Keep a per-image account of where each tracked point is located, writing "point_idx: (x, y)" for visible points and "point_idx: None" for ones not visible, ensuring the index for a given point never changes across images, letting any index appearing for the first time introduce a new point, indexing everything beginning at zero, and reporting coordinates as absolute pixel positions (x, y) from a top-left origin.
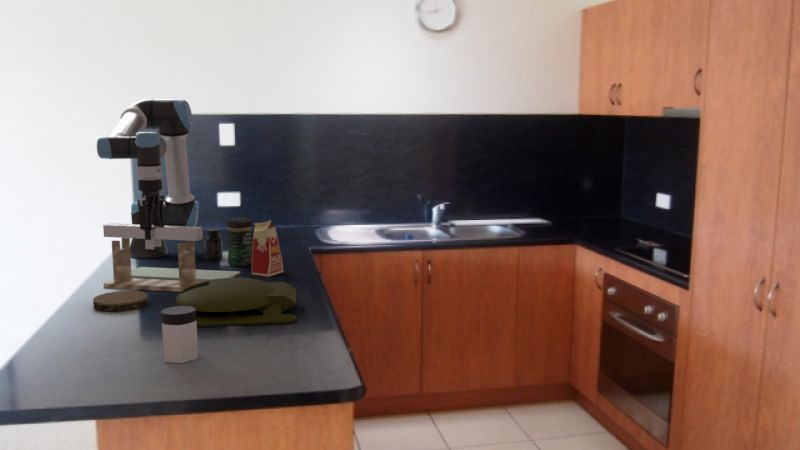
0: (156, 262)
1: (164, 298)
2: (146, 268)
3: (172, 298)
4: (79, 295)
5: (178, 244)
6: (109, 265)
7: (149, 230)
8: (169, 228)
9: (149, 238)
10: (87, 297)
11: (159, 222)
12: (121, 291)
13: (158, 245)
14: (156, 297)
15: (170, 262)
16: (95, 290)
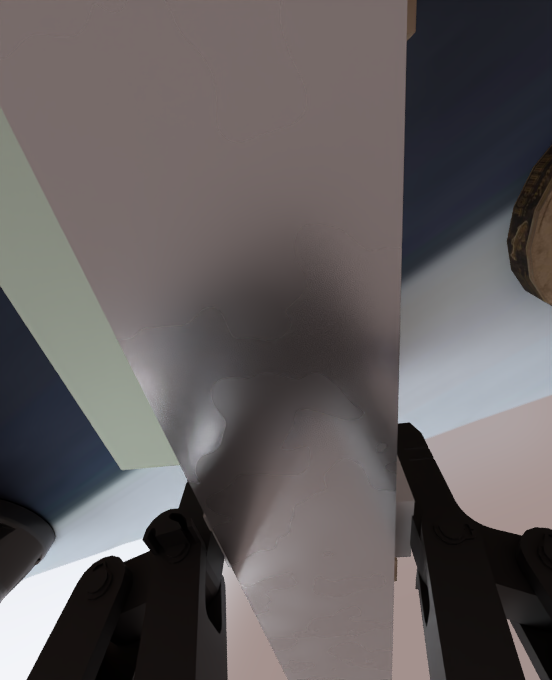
0: (39, 474)
1: (490, 87)
2: (124, 448)
3: (488, 35)
4: (465, 421)
5: (413, 16)
6: (145, 531)
7: (436, 512)
8: (398, 292)
9: (410, 432)
10: (490, 390)
11: (194, 599)
12: (544, 281)
13: None
14: (472, 148)
15: (7, 446)
16: (398, 420)
